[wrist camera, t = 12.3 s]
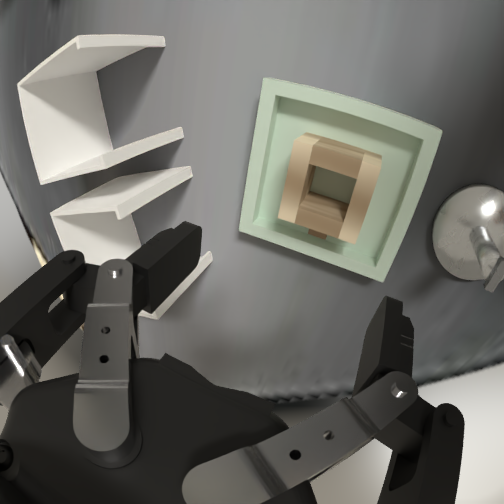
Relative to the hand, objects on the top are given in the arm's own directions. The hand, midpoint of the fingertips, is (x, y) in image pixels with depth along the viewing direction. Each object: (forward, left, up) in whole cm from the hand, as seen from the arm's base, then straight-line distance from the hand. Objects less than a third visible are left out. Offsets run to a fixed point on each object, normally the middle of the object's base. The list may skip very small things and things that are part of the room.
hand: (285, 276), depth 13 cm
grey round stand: (+1, +14, -16) cm, 21 cm away
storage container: (+4, -20, -17) cm, 27 cm away
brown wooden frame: (+1, 0, -16) cm, 16 cm away
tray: (+1, 0, -16) cm, 16 cm away
